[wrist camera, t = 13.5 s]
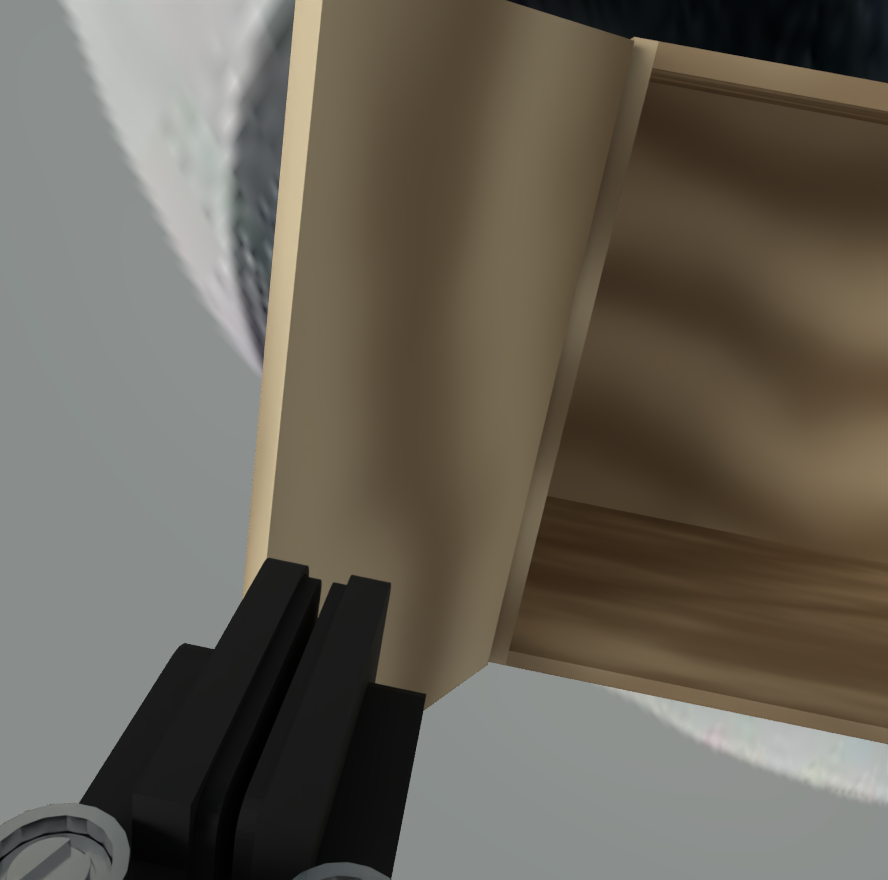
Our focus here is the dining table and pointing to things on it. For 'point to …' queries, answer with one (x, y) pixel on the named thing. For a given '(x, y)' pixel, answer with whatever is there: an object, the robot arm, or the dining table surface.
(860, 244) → the carton
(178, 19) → the dining table surface
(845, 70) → the dining table surface
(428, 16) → the flap
